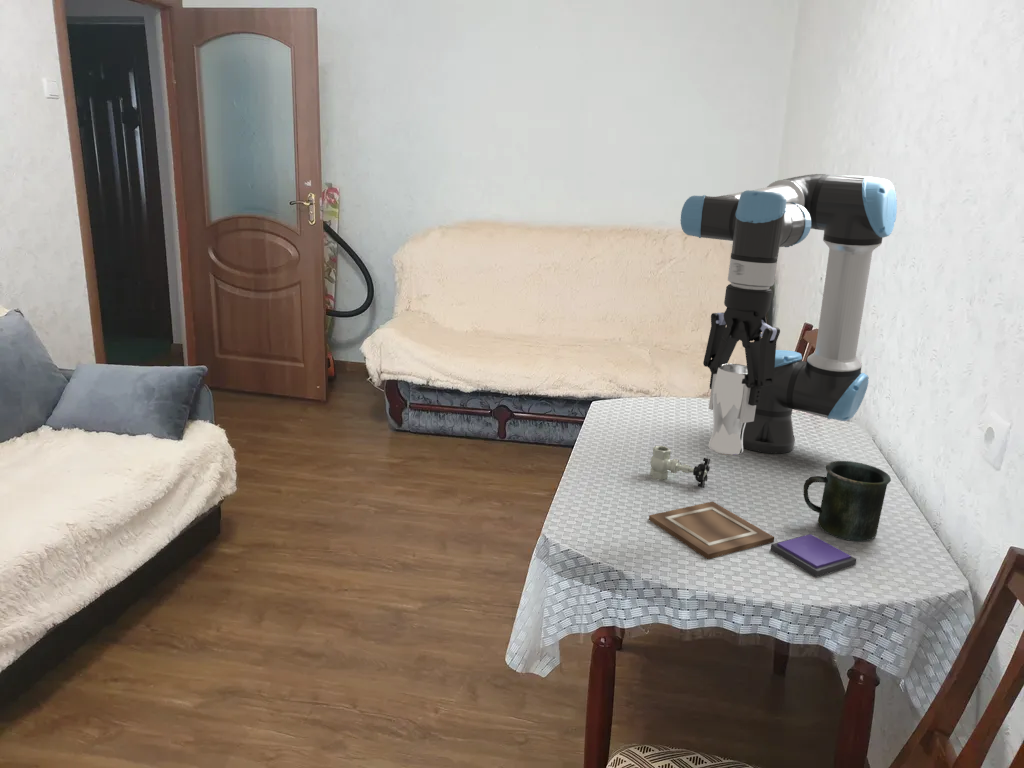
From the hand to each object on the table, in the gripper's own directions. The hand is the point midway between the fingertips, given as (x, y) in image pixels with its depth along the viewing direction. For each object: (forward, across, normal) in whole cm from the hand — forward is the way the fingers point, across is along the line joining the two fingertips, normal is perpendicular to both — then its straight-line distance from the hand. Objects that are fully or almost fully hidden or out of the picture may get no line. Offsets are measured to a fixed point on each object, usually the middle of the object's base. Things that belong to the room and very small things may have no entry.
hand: (730, 414), depth 136 cm
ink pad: (+23, +15, +9) cm, 29 cm away
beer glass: (+7, 0, 0) cm, 7 cm away
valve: (+23, -21, +10) cm, 33 cm away
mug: (+23, +9, +24) cm, 34 cm away
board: (+23, 0, 0) cm, 23 cm away
